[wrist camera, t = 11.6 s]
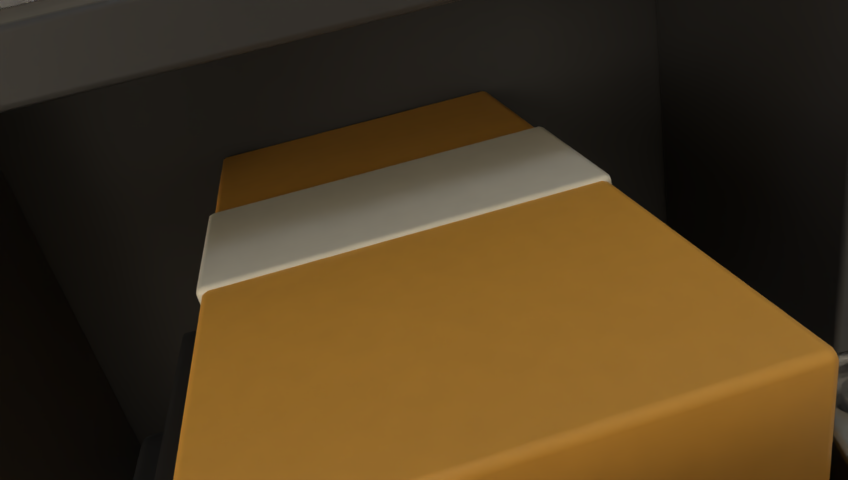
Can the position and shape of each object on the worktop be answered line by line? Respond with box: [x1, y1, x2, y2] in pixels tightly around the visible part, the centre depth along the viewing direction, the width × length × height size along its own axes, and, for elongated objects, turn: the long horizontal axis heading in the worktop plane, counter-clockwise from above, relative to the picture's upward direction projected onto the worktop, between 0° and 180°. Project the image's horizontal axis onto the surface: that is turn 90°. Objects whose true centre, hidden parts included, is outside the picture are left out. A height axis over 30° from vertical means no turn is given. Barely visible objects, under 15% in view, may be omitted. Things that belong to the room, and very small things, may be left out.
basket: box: [0, 0, 848, 480], centre depth 12 cm, size 14×12×6 cm
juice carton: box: [173, 91, 839, 480], centre depth 10 cm, size 6×5×9 cm
